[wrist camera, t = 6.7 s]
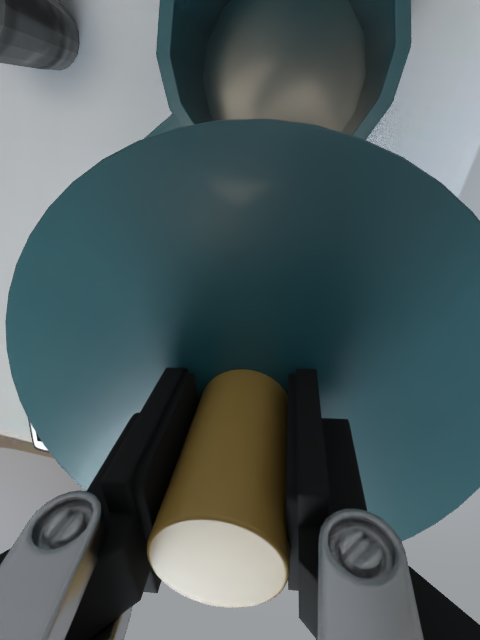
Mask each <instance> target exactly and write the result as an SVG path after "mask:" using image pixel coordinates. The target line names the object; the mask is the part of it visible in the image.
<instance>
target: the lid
mask: <svg viewBox="0 0 480 640" xmlns="http://www.w3.org/2000/svg"><path fill="white" fill-rule="evenodd" d="M6 343H7V353H8V358H9V364H10V369H11V374H12V378H13V381H14V384H15V387H16V390H17V393H18V396H19V399H20V402H21V404H22V406H23V408H24V410H25V412H26V414H27V417H28V419H29V421H30V423H31V425H32V426H33V428H34V430H35V431H36V433H37V434H38V436H39V438H40V439H41V441H42V442H43V444H44V446H45V447H46V448H47V450H48V451H49V452H50V453H51V455H52V456H53V457H54V459H55V460H56V461H57V462H58V464H59V465H60V466H61V467H62V468H63V469H64V470H65V471H66V472H67V473H68V474H69V476H70V477H71V478H72V479H73V480H74V481H75V482H76V483H77V484H78V485H79V486H80V487H82V488H83V489H84V490H85V491H87V489H88V488H89V486H90V484H91V483H92V481H93V480H94V478H95V476H96V475H97V473H98V471H99V470H100V468H101V466H102V465H103V463H104V461H105V460H106V458H107V456H108V455H109V453H110V451H111V450H112V448H113V446H114V445H115V443H116V441H117V440H118V438H119V437H120V435H121V433H122V432H123V430H124V428H125V427H126V425H127V423H128V422H129V420H130V418H131V417H132V416H133V415H134V414H135V413H140V412H141V410H142V408H143V406H144V405H145V403H146V401H147V399H148V398H149V396H150V394H151V393H152V391H153V389H154V387H155V386H156V384H157V382H158V381H159V379H160V377H161V375H162V374H163V372H164V370H165V369H166V368H168V367H174V368H187V369H188V372H189V373H194V375H195V381H196V388H197V395H198V401H199V404H198V407H197V409H196V412H195V415H194V417H193V420H192V423H191V426H190V428H189V431H188V434H187V436H186V439H185V442H184V444H183V447H182V450H181V452H180V455H179V458H178V461H177V463H176V466H175V469H174V471H173V474H172V477H171V479H170V482H169V485H168V488H167V490H166V493H165V496H164V498H163V501H162V504H161V506H160V509H159V512H158V514H157V517H156V520H155V523H154V525H153V528H152V531H151V533H150V536H149V539H148V543H147V556H148V561H149V563H150V566H151V568H152V569H153V571H154V572H155V574H156V575H157V576H158V577H159V578H160V579H161V580H162V581H163V582H164V583H165V584H166V585H167V586H169V587H170V588H171V589H173V590H174V591H176V592H178V593H179V594H181V595H183V596H185V597H187V598H190V599H192V600H195V601H197V602H201V603H204V604H208V605H213V606H218V607H227V608H242V607H250V606H256V605H259V604H262V603H265V602H267V601H269V600H271V599H272V598H274V597H276V596H277V595H278V594H279V593H280V592H281V591H282V590H283V589H284V587H285V585H286V583H287V581H288V578H289V572H290V546H289V541H288V538H287V521H286V456H287V413H288V374H296V369H316V370H317V379H318V388H319V398H320V407H321V417H322V418H335V419H348V420H349V424H350V428H351V433H352V438H353V443H354V448H355V453H356V458H357V463H358V468H359V472H360V477H361V482H362V487H363V492H364V497H365V502H366V507H367V511H369V512H371V513H373V514H375V515H377V516H379V517H381V518H382V519H383V520H385V521H386V522H387V523H388V524H389V525H390V526H392V527H393V529H394V530H395V532H396V533H397V534H398V536H399V537H400V539H401V541H403V540H406V539H408V538H411V537H413V536H414V535H416V534H418V533H420V532H422V531H423V530H425V529H427V528H429V527H431V526H432V525H434V524H436V523H437V522H439V521H440V520H441V519H443V518H444V517H446V516H447V515H448V514H449V513H451V512H452V511H454V510H455V509H457V508H458V507H459V506H460V505H461V504H462V503H464V501H466V500H467V499H468V498H469V497H470V496H471V495H472V494H473V493H474V492H475V491H476V490H477V489H479V487H480V221H479V220H478V218H477V217H476V216H475V215H474V213H473V212H472V211H471V210H470V209H469V208H468V207H467V206H466V205H465V204H463V203H462V202H461V201H460V200H459V199H458V198H457V197H456V196H455V195H454V194H453V193H452V192H451V191H449V190H448V189H447V188H446V187H445V186H444V185H443V184H442V183H441V182H439V181H438V180H436V179H435V178H433V177H432V176H430V175H429V174H427V173H426V172H424V171H423V170H421V169H420V168H418V167H417V166H415V165H414V164H412V163H411V162H409V161H408V160H406V159H405V158H403V157H401V156H399V155H397V154H394V153H392V152H390V151H388V150H386V149H384V148H381V147H379V146H377V145H375V144H373V143H371V142H368V141H366V140H364V139H362V138H359V137H356V136H352V135H349V134H345V133H342V132H338V131H335V130H331V129H328V128H324V127H321V126H317V125H312V124H304V123H297V122H289V121H282V120H274V119H233V120H218V121H212V122H206V123H200V124H195V125H189V126H183V127H178V128H175V129H172V130H169V131H166V132H163V133H160V134H157V135H154V136H151V137H148V138H145V139H142V140H139V141H137V142H135V143H133V144H131V145H129V146H127V147H126V148H124V149H122V150H120V151H118V152H116V153H114V154H112V155H110V156H108V157H106V158H105V159H103V160H101V161H100V162H99V163H97V164H96V165H95V166H93V167H92V168H91V169H89V170H88V171H87V172H85V173H84V174H83V175H81V176H80V177H79V178H77V179H76V180H75V181H73V182H72V183H71V184H70V185H69V187H68V188H67V189H66V190H65V191H64V192H63V193H62V194H61V195H60V196H59V197H58V198H57V199H56V200H55V201H54V202H53V203H52V204H51V205H50V206H49V207H48V209H47V210H46V212H45V213H44V215H43V216H42V218H41V219H40V221H39V222H38V224H37V225H36V227H35V228H34V230H33V231H32V233H31V234H30V236H29V238H28V240H27V242H26V244H25V247H24V249H23V251H22V253H21V255H20V258H19V260H18V262H17V264H16V268H15V271H14V275H13V279H12V282H11V286H10V290H9V294H8V304H7V313H6Z"/></svg>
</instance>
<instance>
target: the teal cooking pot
mask: <svg viewBox="0 0 480 640" xmlns="http://www.w3.org/2000/svg"><path fill="white" fill-rule="evenodd" d="M410 44H411V0H160V7H159V22H158V37H157V51H156V55H157V61H158V65H159V69H160V73H161V77H162V81H163V85H164V89H165V93H166V97H167V101H168V105H169V108H170V110H171V112H172V113H173V114H172V115H171V116H170V117H168V118H167V119H166V120H165V121H164V122H163V123H161V124H160V125H159V126H158V127H157V128H156V129H155V130H153V131H152V132H151V133H150V134H149V135H148V136H146V137H145V138H148V137H151V136H154V135H157V134H160V133H163V132H166V131H169V130H172V129H175V128H178V127H183V126H189V125H195V124H200V123H206V122H212V121H218V120H233V119H274V120H282V121H289V122H297V123H304V124H312V125H317V126H321V127H324V128H328V129H331V130H335V131H338V132H342V133H345V134H349V135H352V136H356V137H359V138H362V139H364V140H366V139H367V137H368V136H369V134H370V133H371V132H372V130H373V129H374V128H375V126H376V125H377V124H378V122H379V121H380V120H381V118H382V117H383V115H384V114H385V113H386V111H387V110H388V109H389V107H390V106H391V104H392V102H393V100H394V96H395V93H396V90H397V87H398V84H399V81H400V78H401V75H402V72H403V69H404V66H405V63H406V60H407V56H408V53H409V50H410V47H411V45H410ZM145 138H144V139H145Z"/></svg>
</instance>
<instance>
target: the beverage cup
mask: <svg viewBox="0 0 480 640" xmlns="http://www.w3.org/2000/svg"><path fill="white" fill-rule="evenodd" d="M78 48H79V36H78V30H77V27H76V24H75V21H74V20H73V18H72V17H71V15H70V13H69V12H68V11H67V10H66V9H65V8H64V7H63V6H62V5H61V4H59V3H58V2H57V1H56V0H0V63H5V64H12V65H18V66H25V67H32V68H38V69H52V70H62V69H65V68H67V67H69V66H70V65H71V64H72V63H73V62H74V60H75V58H76V56H77V54H78Z"/></svg>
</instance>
